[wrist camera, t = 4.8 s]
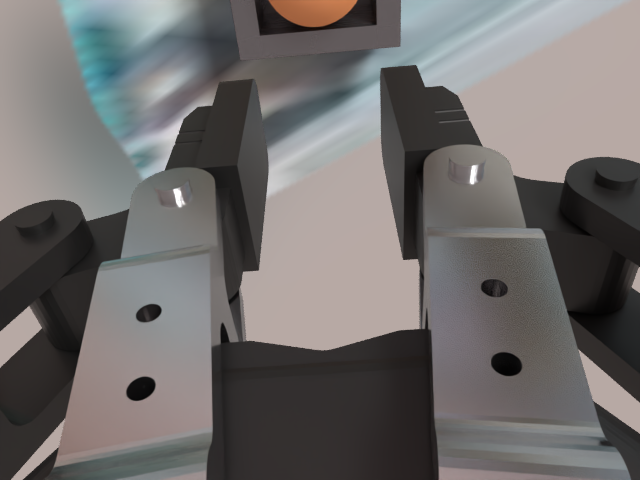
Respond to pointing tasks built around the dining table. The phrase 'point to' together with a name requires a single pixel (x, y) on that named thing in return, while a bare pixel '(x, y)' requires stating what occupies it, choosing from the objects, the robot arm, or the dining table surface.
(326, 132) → the dining table surface
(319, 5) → the button
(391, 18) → the button housing
